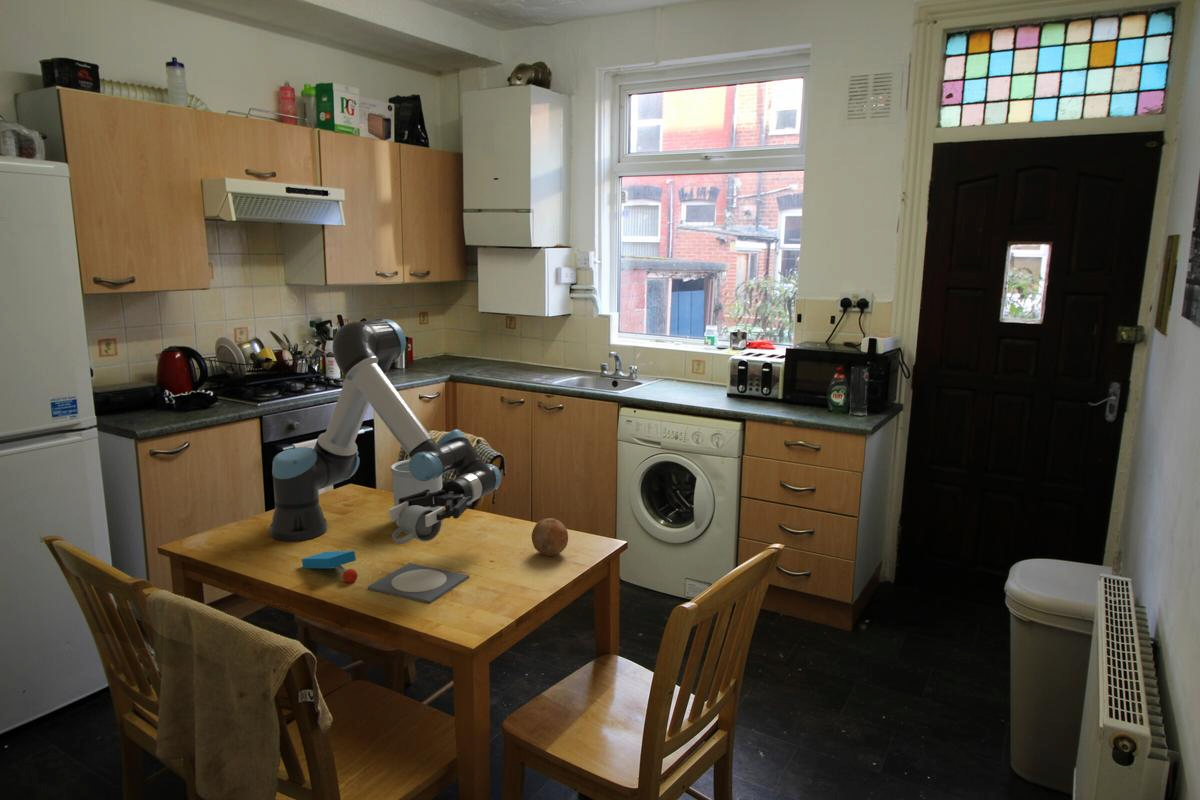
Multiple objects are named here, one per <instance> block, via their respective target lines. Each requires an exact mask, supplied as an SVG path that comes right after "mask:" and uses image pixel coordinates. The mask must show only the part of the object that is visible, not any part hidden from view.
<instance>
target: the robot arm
mask: <svg viewBox="0 0 1200 800" xmlns="http://www.w3.org/2000/svg"><path fill="white" fill-rule="evenodd" d="M406 341H407V340H406V335H405V334H404V331H403V329H402V328H401V327H400V325H399V324H398V323H397V322H395V321H394V320H391V319H387V318H374V319H373V320H362V321H361V320H360V321H352V322H351V321H350V322H348V323H346V324H344V325H342V326H341V327H340V328H339V329H338V330H337V331H336V333H335V335H334V336H333V340H332V346H331V347H332V353H333V357H334V360H335V363H336V365H337V367H338V369H339V370H340V371H341V373H342V375H343V376H344V378H345V380H344V383H343V385H342V389H341V391H340V393H339V397H338V398H337V400H336V401H337V402H336V404H335V406H334V409H333V412H332V415H331V418H330V420H329V423H328V425H327V428H326V430H325V432H322V433H320V434H319V435H318V437H317V440H316V442H315V445H314V448H312V447H308V446H307V447H306V446H300V447H299V446H298V447H295V448H288V449H286V450H283V451H281V452H279V453H277V454H276V455H275V456H274V457H273V458H272V459H273V460H272V469H271V473H272V482H273V484H272V485H273V495H274V511H273V515H272V520H271V521H272V522H271V524H270V526H269V535H270V538H272V539H274V540H277V541H284V542H297V541H305V540H310V539H314V538H316V537H319V536H322V535H323V534H325V533H326V532H327V530H328V523H327V519H326V518H325V516H324V512H323V510H322V508H321V505H320V500H319V499H320V498H319V497H320V495H319V494H320V493H319V490H322V489H324V488H328V487H330V486H332V485H336V484H338V483H342V482H345V481H346V480H348V479H350V478H351V477H352V476H354V475H355V473H356V472H357V470H358V468H359V466H360V457H359V456H358V455H359V451H358V445H357V443H356V439H357V437H358V434H359V432H360V430H361V427H362V424H363V422H364V420H365V416H366V415H367V411H368V410H369V406H370V405H371V407H372V408H373V410H374V411H375V412H376V414H377V415H378V416H379V418H380V419H381V420H382V422H383V423H384V425H385V426H386V428H387V429H388V430H389V432H390V433H391V434H392V436H393V437H394V438H395V439H396V441H397V442H398V444H399V446H401V448H402V449H403V450H404V451H405V453H406V455H408V457H409V460H410V461H409V468H410V473H411V474H412V476H413V477H414V478H415V479H417V480H419V481H428V480H432V479H435V478H438V477H439V476H441V475H442V476H443V475H445V474H447V473H450V472H452V471H454V472H456V474H457V475H458V477H455V478H453V479H451V480H449V481H446V483H444V484H443V485H442V489H441V490H439V491H437V492H434V493H430V490H425V491H423V492H420V493H417V494H413V495H410V496H407V497H403V498H400V499H399V505H397V506H395V507H394V506H393V507H391V508H389V509H388V519H389V521H394V520H396V518H398V517H400V515H401V513H402V511H403V510H404V509H405V508H407V507H409V506H412V505H418V506H422V507H428V506H430V507H437V506H441V508H439V509H437V510H435V511H433V512H431V513H429V514H427V515H425V522H426V527H429V526H431V525H433V524H435V523H437V522H439V521H441V520H442V521H443V520H445V519H450V518H451V517H452V518H453V519H458V518H460V517H461V515H463V514H464V513H465V511H467V509H469V508H471V507H472V503H473V502H474V501H477V500H479V499H481V498H483V497H485V496H487V495H489V494H491V493H492V492H493V491H495V490H497V488H499V486H500V485H501V482H502V473H501V471H500V469H499V468H498V467H497V466H495V465H493V464H491V463H486V462H485V461H484V460H483V459H482V457H481V456H480V455H479V453H478V451H477V450H476V449H475V447H474V446H473V444H472V443H471V442H470V440H469V439H468V437H466V435H465V434H464V433H463V432H462V430H460V429H457V428H455V429H453V430H451V431H450V432H447V433H446V434H445V435H443V436H441V438H440V439H439V440H438V442H436V441H435V440H434V439H433V437H432V436H431V435H430V433H429V431H427V429H426V428H425V426H424V425H423V424H422V422H421V421H420V420H419V419H418V418H419V417H417V415H416V414H415V413H414V412H413V410H412V409H411V407H410V406H409V405H408V403H407V402H406V401H405V400H404V398H403V397H402V396H401V394H400V393H399V391H398V390H397V388H396V387H395V386H394V384H393V383H392V382H391V380H390V379H389V378H388V376H387V375H386V374H388V373H389V370H390V368H391V365H392V363H393V360H397V359H398V358H400V357H401V356H402V355H403V354H404V353H405V350H406V345H407V342H406ZM433 498H434V504H433ZM442 506H443V507H442Z"/></svg>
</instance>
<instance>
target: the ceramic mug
mask: <svg viewBox="0 0 1200 800" xmlns="http://www.w3.org/2000/svg"><path fill="white" fill-rule="evenodd" d="M433 511H435V510H433V509H430V508H426V507H422V506H418V505H412V506H409V507H407V508H405V509H404V510H403V511H402V513H401V515H400V518H399V524H400V527H399V526H398V528H396V529H395V530H394V531H393V532H392V535H391V538H392V539H393V542H394V543H395V544H397V545H403V544H406V543H409V542H410V541H412V540H413V539H416V540H417V541H420V542H429V541H432V540H434V539H436V537H437V536H438V535H439V533H440V532H441V528H442V522H441V521H439V522H437V523H435V524H433V525H431V526H429V527H426V522H425V515H427V514H429V513H431V512H433ZM403 532H404V533H405V534H406V535H404V536H402V537H399V535H401V534H402V533H403ZM398 537H399V538H398Z"/></svg>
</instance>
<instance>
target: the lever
mask: <svg viewBox="0 0 1200 800" xmlns="http://www.w3.org/2000/svg"><path fill="white" fill-rule="evenodd" d="M356 561H357V558H356V554H355V550H344V551H343V550H342V551H341V550H340V551H338V550H337V551H336V550H335V551H324V552H320V553H317V554H314V555H310V556H306V557H303V558H301V563H302V568H304V567H305V568H304V569H332V568H335V569H336V570H338V571H339V572H340V573H342V580H343V581H344V582H345V583H347V584H353V583H355V582H356V581H357V579H358V573H357V570H355V569H353V568H348V569H347V568H344V567H343V566H342V565H346V564H349V563H352V562H356ZM352 582H353V583H352Z"/></svg>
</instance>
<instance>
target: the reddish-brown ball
mask: <svg viewBox="0 0 1200 800" xmlns="http://www.w3.org/2000/svg"><path fill="white" fill-rule="evenodd" d="M531 542H532V545H533V548H534V549H535V551H537V552H538V553H539V554H541V555H543V556H548V557H552V556H556V555H558V554H559V555H560V553H563V551H564V550H565V549H566V547H567V545H568V543H569V533H568V529H567V527H566V526H565V524H564V523H562V522H561V521H560V520H558V519H556V518H553V517H551V518H550V517H548V518H543V519H540V520H539V521H538V522H536V524H535V525H534V527H533V529H532V532H531Z"/></svg>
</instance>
